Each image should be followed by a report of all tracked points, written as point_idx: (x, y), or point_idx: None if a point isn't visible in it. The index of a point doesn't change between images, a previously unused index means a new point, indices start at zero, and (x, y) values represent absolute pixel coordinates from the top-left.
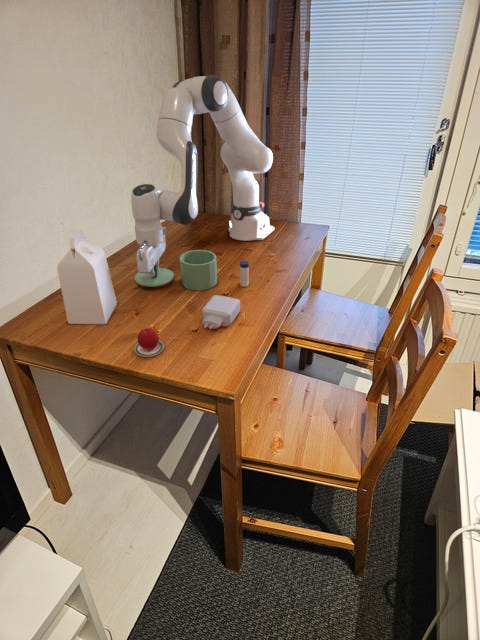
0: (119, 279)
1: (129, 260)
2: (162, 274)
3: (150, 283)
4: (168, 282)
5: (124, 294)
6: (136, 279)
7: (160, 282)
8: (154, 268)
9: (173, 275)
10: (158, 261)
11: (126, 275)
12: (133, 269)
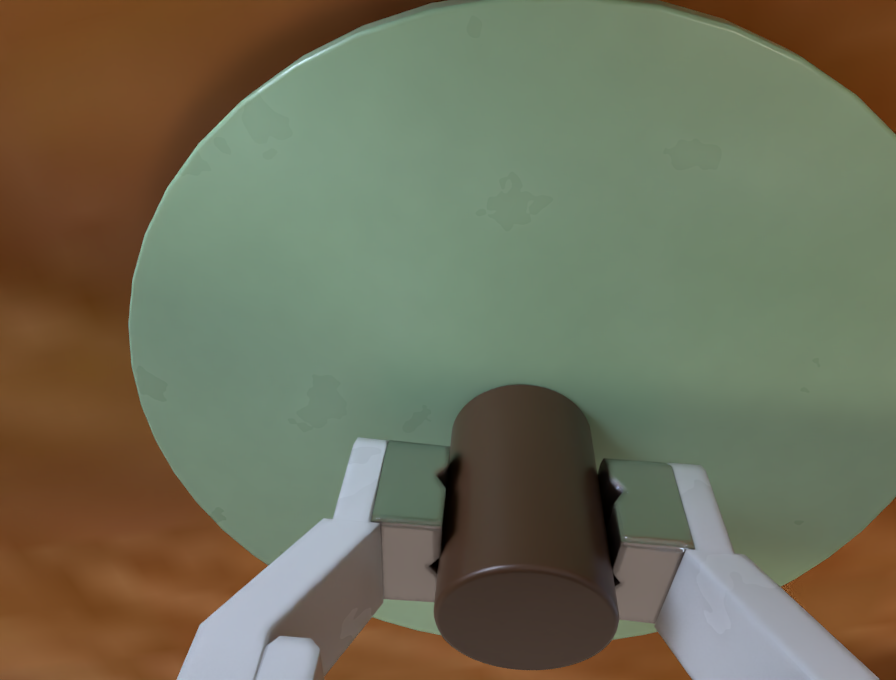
0: (456, 673)
1: (12, 661)
2: (433, 311)
3: (854, 446)
4: (827, 80)
5: (842, 601)
6: (645, 623)
7: (863, 277)
8: (609, 597)
9: (458, 16)
10: (273, 620)
11: (353, 642)
12: (191, 613)
